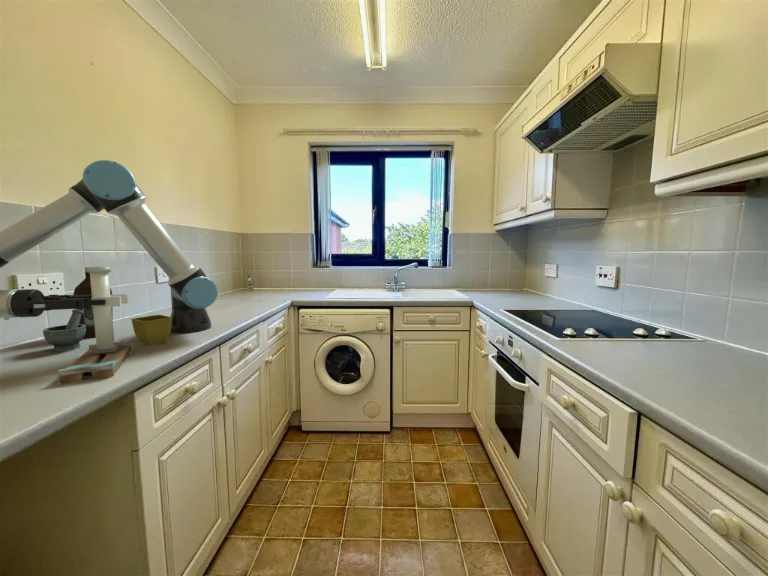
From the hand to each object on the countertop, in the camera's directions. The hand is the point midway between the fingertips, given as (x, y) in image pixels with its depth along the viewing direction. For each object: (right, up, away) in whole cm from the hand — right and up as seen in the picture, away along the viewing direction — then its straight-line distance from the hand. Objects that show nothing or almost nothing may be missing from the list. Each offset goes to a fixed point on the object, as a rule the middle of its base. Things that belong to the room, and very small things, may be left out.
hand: (123, 300), depth 94 cm
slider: (-5, -15, 0) cm, 16 cm away
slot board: (-2, -18, -5) cm, 19 cm away
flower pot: (-2, -16, +15) cm, 22 cm away
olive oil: (-31, -14, +26) cm, 43 cm away
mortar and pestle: (-25, -16, +9) cm, 31 cm away
